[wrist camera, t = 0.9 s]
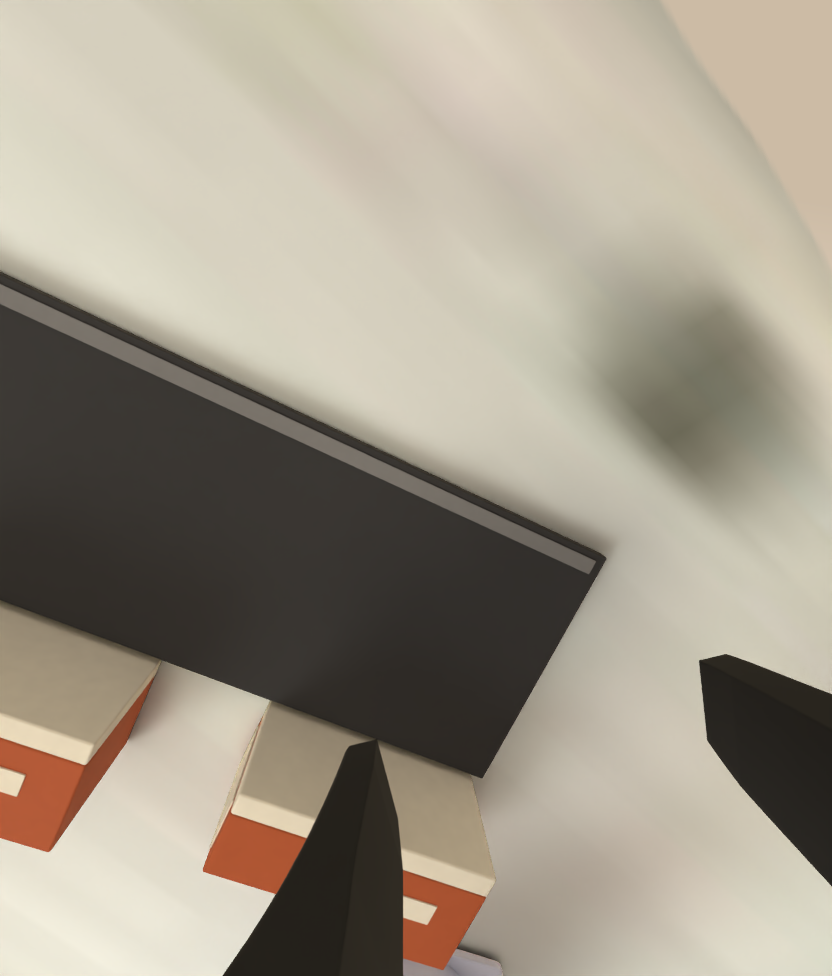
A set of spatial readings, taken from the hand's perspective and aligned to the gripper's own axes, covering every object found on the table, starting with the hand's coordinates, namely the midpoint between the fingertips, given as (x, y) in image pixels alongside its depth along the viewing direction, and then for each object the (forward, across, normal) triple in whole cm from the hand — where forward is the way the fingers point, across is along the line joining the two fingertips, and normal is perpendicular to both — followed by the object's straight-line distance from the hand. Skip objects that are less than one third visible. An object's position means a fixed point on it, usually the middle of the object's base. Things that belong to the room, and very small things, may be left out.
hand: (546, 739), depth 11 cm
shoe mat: (+10, +9, -4) cm, 14 cm away
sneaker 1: (+10, +7, +8) cm, 14 cm away
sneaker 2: (+10, +18, -1) cm, 20 cm away
